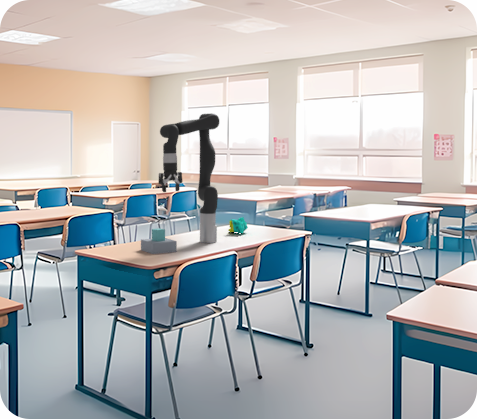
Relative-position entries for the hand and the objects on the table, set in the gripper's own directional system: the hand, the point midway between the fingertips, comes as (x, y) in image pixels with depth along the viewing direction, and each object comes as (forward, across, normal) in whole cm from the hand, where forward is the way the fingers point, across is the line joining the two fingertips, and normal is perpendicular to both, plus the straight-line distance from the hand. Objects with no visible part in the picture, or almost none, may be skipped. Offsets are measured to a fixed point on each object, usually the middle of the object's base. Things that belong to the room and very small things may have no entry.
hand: (170, 191), depth 293 cm
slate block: (+31, +12, +4) cm, 34 cm away
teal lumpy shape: (+34, -68, -19) cm, 78 cm away
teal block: (+25, +12, +4) cm, 28 cm away
